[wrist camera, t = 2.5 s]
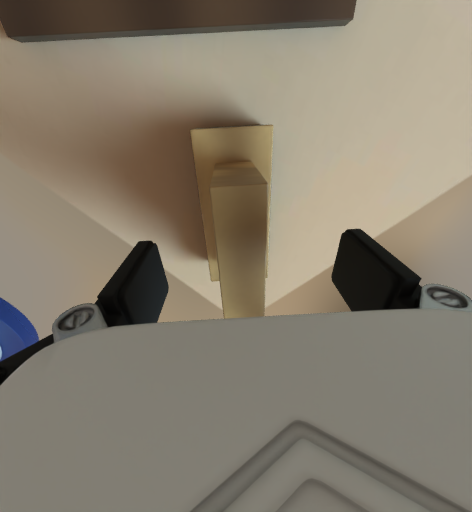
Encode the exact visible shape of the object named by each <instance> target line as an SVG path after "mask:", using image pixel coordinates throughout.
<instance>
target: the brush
mask: <svg viewBox="0 0 472 512" xmlns="http://www.w3.org/2000/svg"><path fill="white" fill-rule="evenodd" d="M190 135H191V142H192V149H193V156H194V163H195V170H196V177H197V184H198V191H199V198H200V206H201V213H202V220H203V227H204V234H205V241H206V248H207V255H208V262H209V269H210V276H211V281H220V288H221V297H222V306H223V314H224V319H227V318H245V317H262V316H264V311H265V280H266V278H267V277H268V253H269V227H270V201H271V175H272V149H273V125H251V126H233V127H216V128H199V129H191V130H190Z"/></svg>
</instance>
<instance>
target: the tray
mask: <svg viewBox="0 0 472 512" xmlns="http://www.w3.org/2000/svg"><path fill="white" fill-rule="evenodd" d="M355 6H356V0H0V20H1V22H2V25H3V27H4V29H5V31H6V34H7V36H8V37H10V38H12V39H15V40H17V41H20V42H38V41H58V40H77V39H96V38H116V37H135V36H155V35H174V34H193V33H213V32H232V31H251V30H271V29H290V28H310V27H329V26H345V25H346V24H348V23H349V22H350V21H351V20H353V17H354V12H355Z"/></svg>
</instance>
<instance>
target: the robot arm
mask: <svg viewBox="0 0 472 512" xmlns="http://www.w3.org/2000/svg"><path fill="white" fill-rule="evenodd" d="M420 280H421V278H420V277H419V276H418V275H417V274H415V273H414V272H413V271H412V270H410V269H409V268H408V267H407V266H406V265H404V264H403V263H402V262H401V261H399V260H398V259H397V258H396V257H394V256H393V255H392V254H391V253H389V252H388V251H387V250H386V249H385V248H383V247H382V246H381V245H380V244H378V243H377V242H376V241H375V240H373V239H372V238H371V237H370V236H368V235H367V234H366V233H365V232H364V231H362V230H361V229H348V230H346V231H345V233H342V235H341V239H340V243H339V247H338V252H337V256H336V260H335V264H334V268H333V272H332V282H333V283H334V285H335V286H336V288H337V289H338V291H339V293H340V294H341V296H342V297H343V299H344V300H345V302H346V303H347V305H348V306H349V308H350V309H351V311H352V312H334V313H317V314H299V315H280V316H262V317H245V318H227V319H211V320H193V321H178V322H162V323H157V321H158V318H159V315H160V313H161V310H162V307H163V304H164V301H165V299H166V296H167V293H168V282H167V279H166V276H165V272H164V268H163V265H162V261H161V258H160V254H159V251H158V247H157V245H156V243H153V242H152V241H139V242H138V243H137V244H136V246H135V247H134V248H133V250H132V251H131V253H130V254H129V255H128V256H127V258H126V259H125V260H124V262H123V263H122V264H121V266H120V267H119V268H118V270H117V271H116V272H115V274H114V275H113V276H112V278H111V279H110V280H109V282H108V283H107V284H106V286H105V287H104V288H103V290H102V291H101V292H100V293H99V295H98V296H97V298H98V300H97V301H96V302H95V304H92V303H86V304H81V305H77V306H75V307H72V308H70V309H69V310H67V311H65V312H64V313H62V314H61V315H60V316H59V317H58V318H57V319H56V320H55V322H54V323H53V326H52V332H53V334H51V335H49V336H48V337H46V338H44V339H42V340H40V341H38V342H36V343H34V344H32V345H31V346H29V347H27V348H25V349H23V350H21V351H19V352H17V353H15V354H14V355H12V356H10V357H8V358H6V359H4V360H2V361H0V512H472V300H471V299H470V298H469V297H468V296H467V295H465V294H464V293H462V292H460V291H458V290H456V289H454V288H451V287H448V286H444V285H440V284H426V285H424V286H423V287H421V286H420V285H419V282H420ZM1 357H2V350H1V346H0V359H1Z"/></svg>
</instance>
